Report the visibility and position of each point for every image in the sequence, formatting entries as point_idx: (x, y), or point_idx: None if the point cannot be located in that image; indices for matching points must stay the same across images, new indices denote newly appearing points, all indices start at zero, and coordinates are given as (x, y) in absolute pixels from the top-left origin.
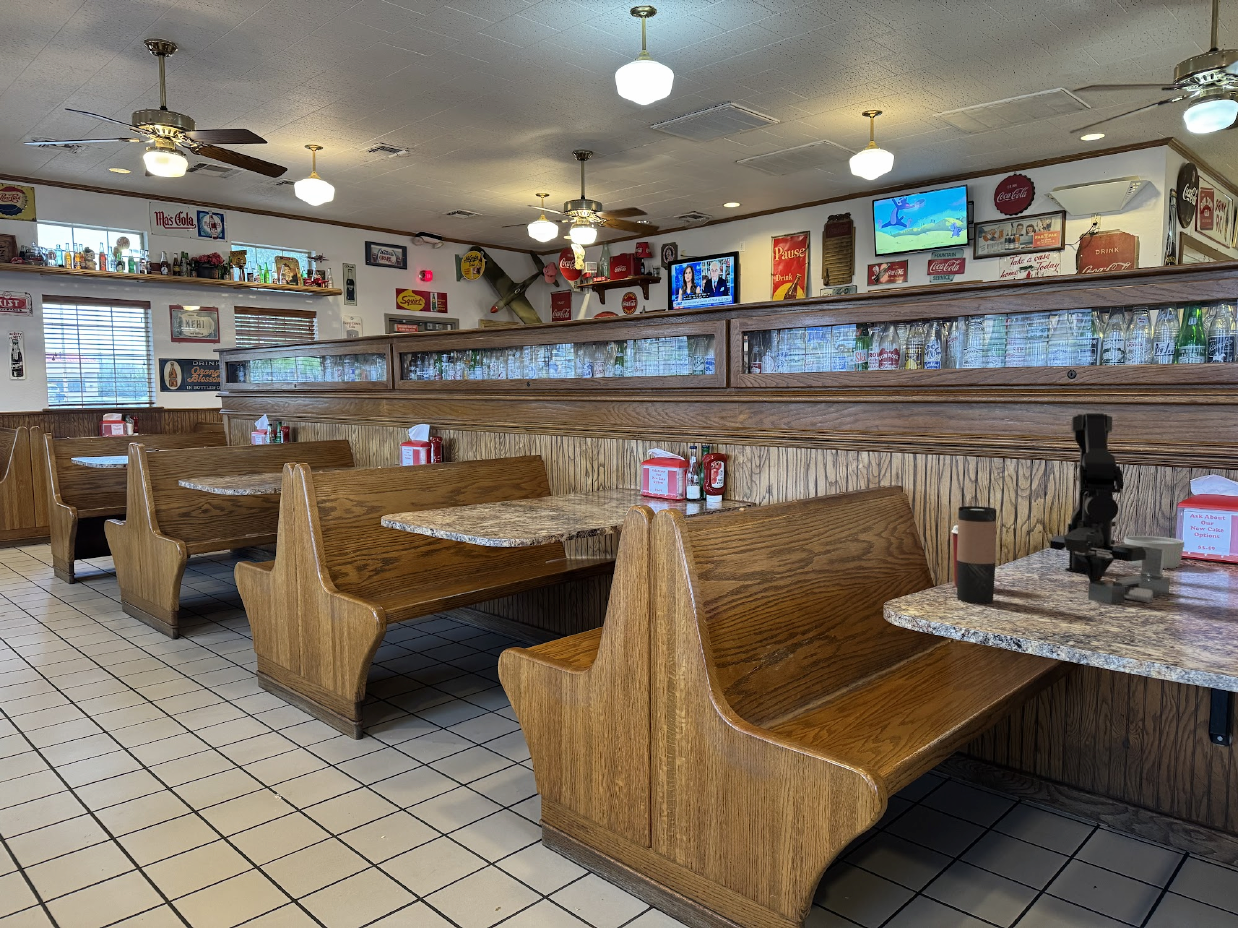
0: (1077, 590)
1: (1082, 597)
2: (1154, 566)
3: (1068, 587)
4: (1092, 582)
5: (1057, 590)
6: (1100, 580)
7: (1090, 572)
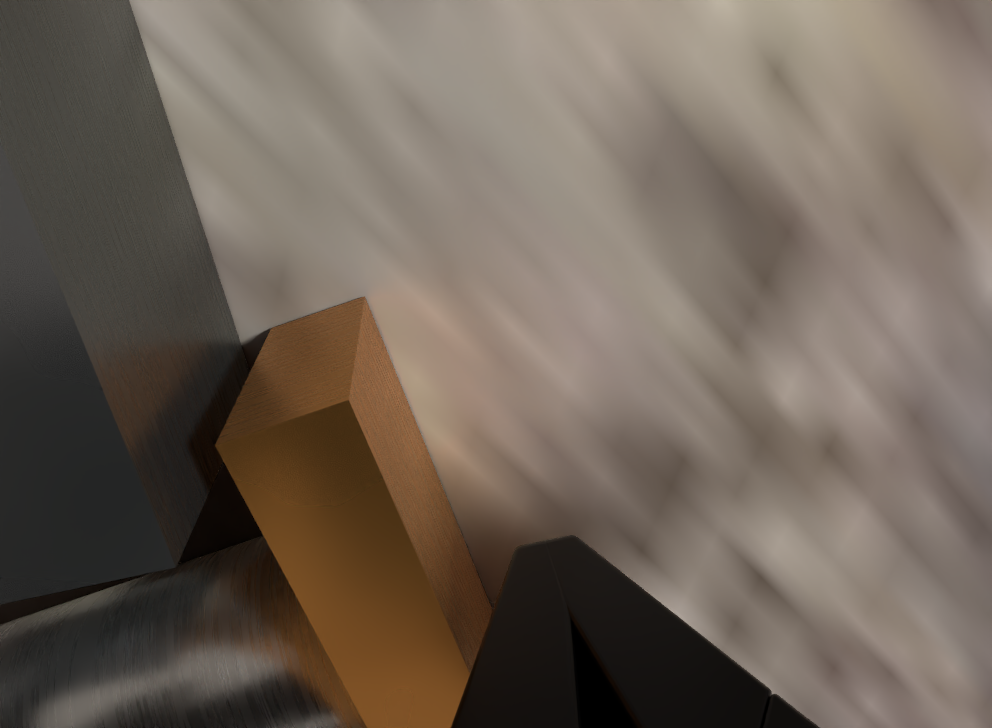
0: (767, 411)
1: (323, 46)
2: None
3: (962, 439)
4: (12, 167)
5: (930, 82)
6: None
7: (638, 704)
